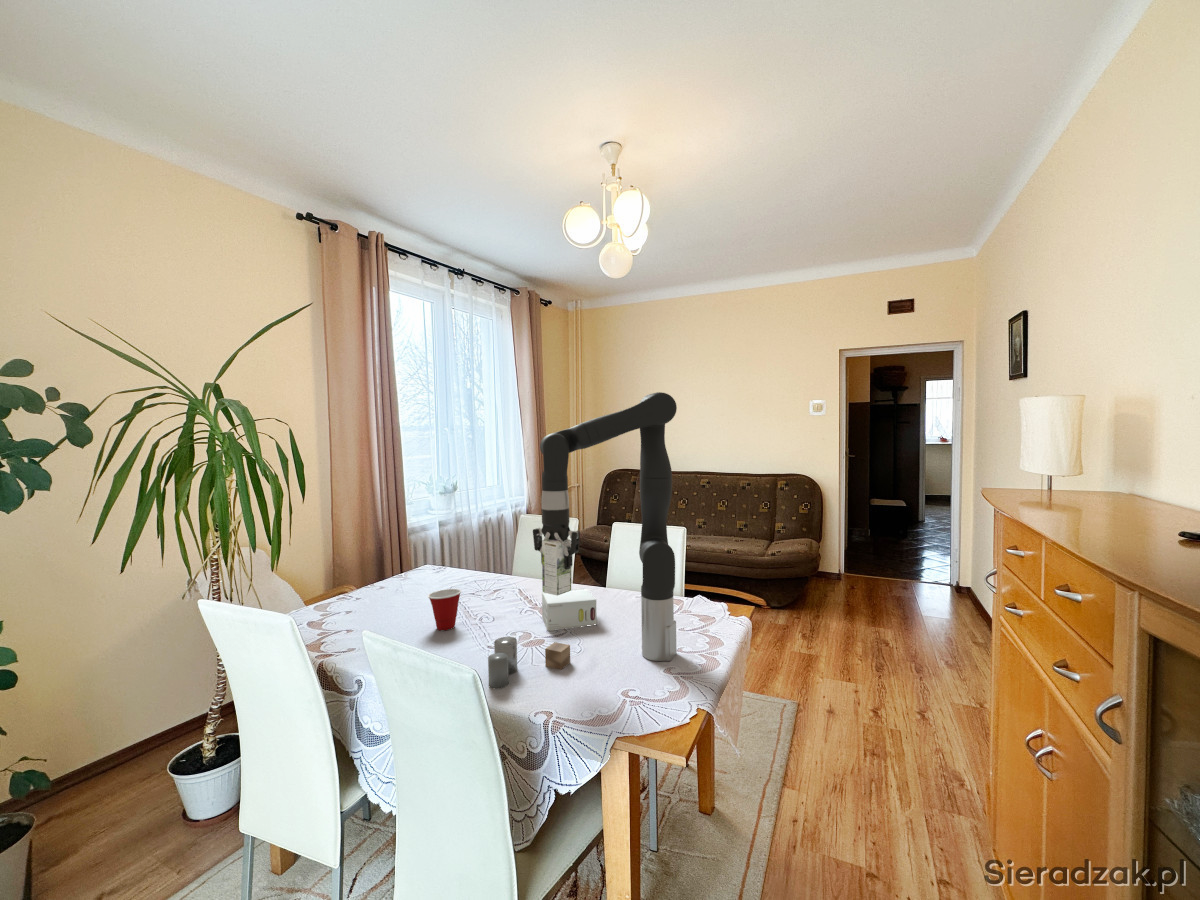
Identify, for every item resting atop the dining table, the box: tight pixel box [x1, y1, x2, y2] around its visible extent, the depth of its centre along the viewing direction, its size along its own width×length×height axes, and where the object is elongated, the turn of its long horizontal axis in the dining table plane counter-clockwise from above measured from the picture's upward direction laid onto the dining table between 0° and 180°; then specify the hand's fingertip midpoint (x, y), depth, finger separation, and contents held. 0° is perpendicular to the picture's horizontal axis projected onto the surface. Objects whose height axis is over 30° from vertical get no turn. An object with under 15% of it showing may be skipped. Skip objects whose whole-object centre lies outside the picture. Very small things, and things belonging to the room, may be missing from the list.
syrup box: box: [541, 538, 572, 595], centre depth 138 cm, size 6×6×14 cm
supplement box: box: [541, 588, 598, 631], centre depth 172 cm, size 17×13×9 cm
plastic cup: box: [427, 588, 462, 631], centre depth 169 cm, size 11×11×12 cm
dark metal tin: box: [493, 636, 518, 676], centre depth 137 cm, size 6×6×8 cm
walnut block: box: [544, 641, 571, 671], centre depth 140 cm, size 5×5×5 cm
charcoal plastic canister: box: [487, 653, 509, 690], centre depth 129 cm, size 5×5×7 cm
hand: (556, 567), depth 138 cm, fingers closed on syrup box, 6 cm apart
